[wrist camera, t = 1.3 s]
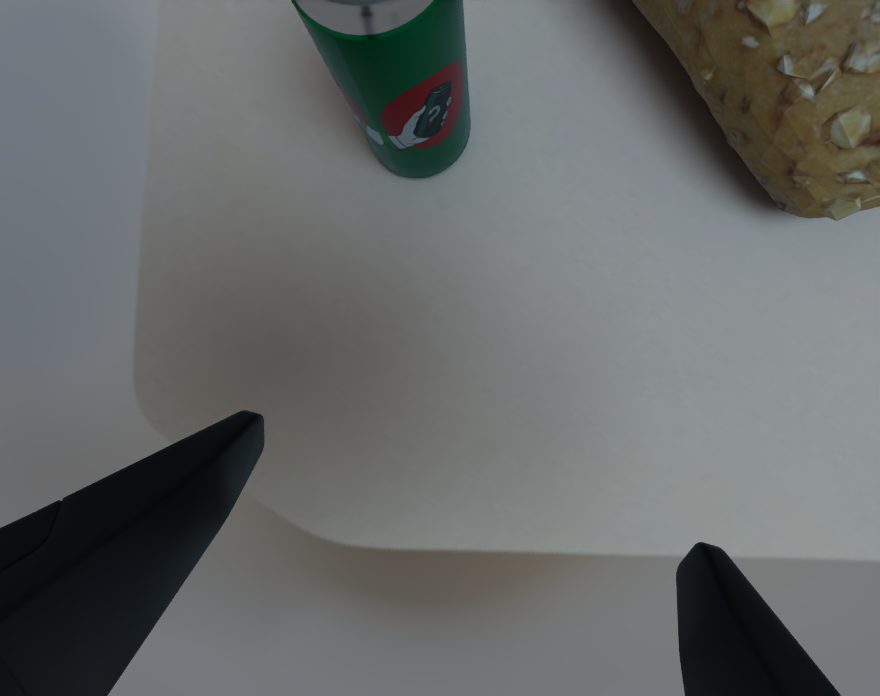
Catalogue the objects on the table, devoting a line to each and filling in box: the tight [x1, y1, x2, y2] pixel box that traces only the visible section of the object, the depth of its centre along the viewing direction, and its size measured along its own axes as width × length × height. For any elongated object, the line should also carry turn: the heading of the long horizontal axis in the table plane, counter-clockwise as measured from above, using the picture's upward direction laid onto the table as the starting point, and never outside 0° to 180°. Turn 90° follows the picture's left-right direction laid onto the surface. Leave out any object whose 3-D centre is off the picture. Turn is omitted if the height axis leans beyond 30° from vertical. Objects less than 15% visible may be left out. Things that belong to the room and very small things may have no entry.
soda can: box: [291, 0, 470, 178], centre depth 18 cm, size 5×5×12 cm
